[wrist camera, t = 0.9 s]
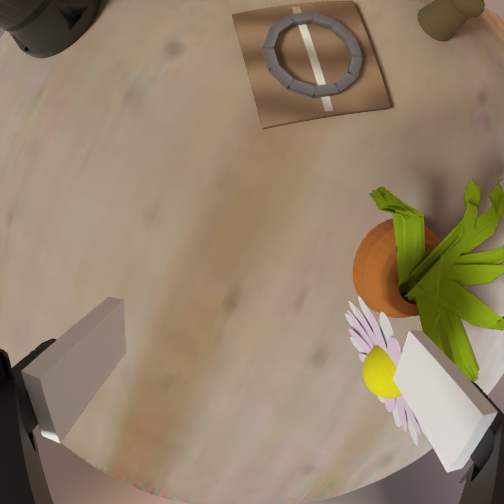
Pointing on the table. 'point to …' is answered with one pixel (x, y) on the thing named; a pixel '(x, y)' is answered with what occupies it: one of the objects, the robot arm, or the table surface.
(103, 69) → the table surface
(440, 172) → the table surface
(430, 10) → the olive round stacked cylinder
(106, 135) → the table surface
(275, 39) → the socket board
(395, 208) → the decorative plant
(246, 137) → the table surface
